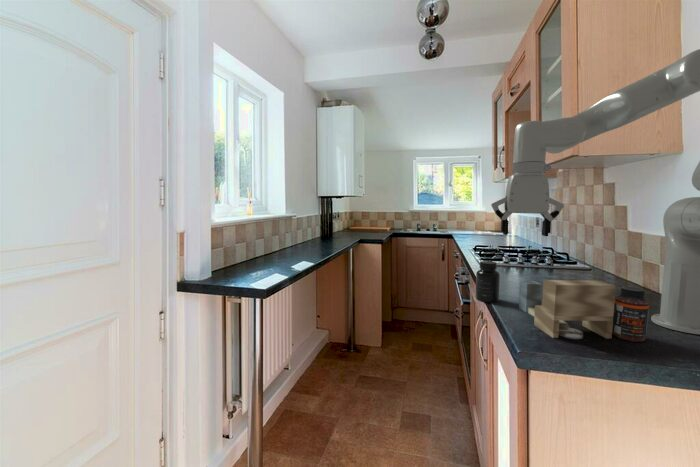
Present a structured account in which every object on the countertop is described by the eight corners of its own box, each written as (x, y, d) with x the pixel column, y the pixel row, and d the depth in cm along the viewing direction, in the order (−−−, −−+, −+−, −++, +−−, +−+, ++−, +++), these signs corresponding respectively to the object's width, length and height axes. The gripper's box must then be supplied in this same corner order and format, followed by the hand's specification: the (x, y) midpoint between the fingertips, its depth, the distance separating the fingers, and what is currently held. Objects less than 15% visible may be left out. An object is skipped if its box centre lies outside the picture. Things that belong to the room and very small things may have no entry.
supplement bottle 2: (618, 340, 74) (622, 290, 73) (607, 331, 80) (610, 284, 79) (651, 344, 72) (656, 292, 71) (638, 334, 78) (641, 286, 77)
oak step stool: (587, 325, 83) (590, 277, 82) (611, 338, 75) (615, 285, 74) (534, 325, 83) (536, 277, 82) (552, 337, 75) (555, 285, 74)
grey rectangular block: (532, 308, 97) (534, 280, 97) (570, 330, 80) (572, 297, 80) (518, 308, 97) (520, 280, 97) (553, 329, 80) (555, 296, 80)
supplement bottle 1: (479, 296, 110) (481, 259, 109) (501, 299, 106) (503, 262, 105) (472, 300, 105) (473, 262, 104) (495, 304, 101) (496, 264, 100)
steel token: (573, 332, 80) (573, 327, 80) (588, 340, 75) (588, 335, 75) (552, 332, 80) (552, 327, 80) (565, 340, 75) (565, 335, 75)
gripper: (560, 171, 90) (556, 235, 92) (491, 172, 95) (488, 233, 96) (571, 168, 83) (566, 237, 84) (495, 169, 87) (492, 235, 89)
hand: (524, 235), depth 90 cm, fingers open, 9 cm apart
